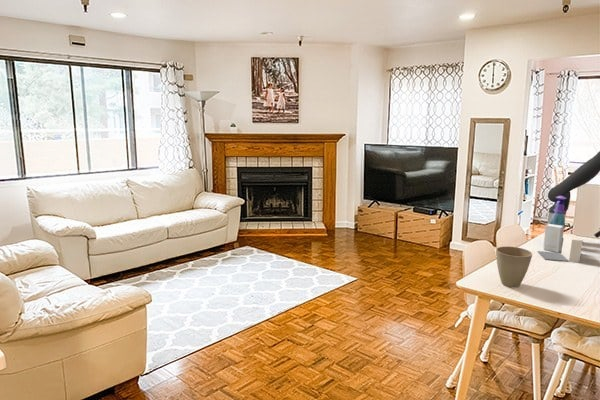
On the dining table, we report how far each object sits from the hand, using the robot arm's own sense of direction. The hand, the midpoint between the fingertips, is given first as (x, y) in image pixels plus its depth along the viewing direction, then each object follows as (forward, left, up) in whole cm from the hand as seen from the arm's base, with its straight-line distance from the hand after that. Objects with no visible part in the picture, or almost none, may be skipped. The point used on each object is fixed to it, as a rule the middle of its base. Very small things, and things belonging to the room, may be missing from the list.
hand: (598, 238), depth 239 cm
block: (0, -12, -12) cm, 17 cm away
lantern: (-25, -13, -12) cm, 31 cm away
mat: (0, -21, -12) cm, 24 cm away
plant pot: (+50, -54, -12) cm, 74 cm away
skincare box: (-13, -18, -12) cm, 25 cm away
